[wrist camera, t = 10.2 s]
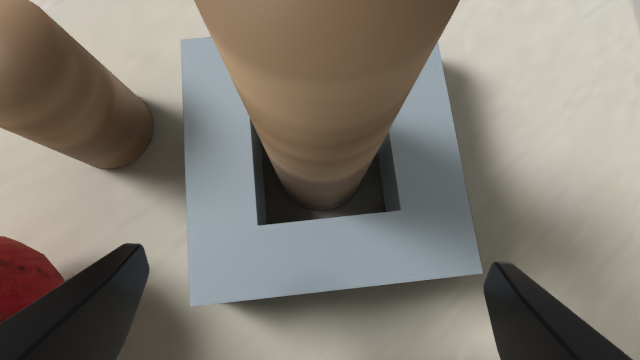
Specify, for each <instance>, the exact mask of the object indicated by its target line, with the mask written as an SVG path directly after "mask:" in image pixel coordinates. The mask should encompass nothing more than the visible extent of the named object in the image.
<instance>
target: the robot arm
mask: <svg viewBox="0 0 640 360" xmlns="http://www.w3.org/2000/svg"><path fill="white" fill-rule="evenodd" d="M148 276H149V264H148V261H147V257H146V254H145V251H144V248H143V246H142V245H141V244H131V243H126V244H123V245H121V246H120V247H118V248H117V249H115V250H114V251H112V252H110V253H109V254H107V255H106V256H104V257H103V258H101V259H100V260H98V261H97V262H95V263H93V264H92V265H90V266H89V267H87V268H86V269H84V270H83V271H81V272H80V273H78V274H76V275H75V276H73V277H72V278H70V279H69V280H67V281H66V282H64V283H63V284H61V285H59V286H58V287H56V288H55V289H53V290H52V291H50V292H49V293H47V294H45V295H44V296H42V297H41V298H39V299H38V300H36V301H35V302H33V303H32V304H30V305H28V306H27V307H25V308H24V309H22V310H21V311H19V312H18V313H16V314H15V315H13V316H11V317H10V318H8V319H7V320H5V321H4V322H2V323H1V324H0V360H116V359H117V357H118V355H119V353H120V351H121V348H122V346H123V344H124V342H125V340H126V338H127V335H128V333H129V331H130V328H131V325H132V323H133V320H134V317H135V314H136V311H137V308H138V305H139V302H140V299H141V296H142V293H143V290H144V288H145V285H146V282H147V279H148ZM484 295H485V300H486V304H487V308H488V312H489V317H490V321H491V325H492V330H493V334H494V338H495V342H496V346H497V350H498V353H499V356H500V359H501V360H633V359H631V358H630V357H629V356H628V355H626V354H625V353H624V352H623V351H621V350H620V349H619V348H618V347H616V346H615V345H614V344H612V343H611V342H610V341H609V340H607V339H606V338H605V337H604V336H602V335H601V334H600V333H599V332H597V331H596V330H595V329H594V328H592V327H591V326H590V325H589V324H587V323H586V322H585V321H584V320H582V319H581V318H580V317H579V316H577V315H576V314H575V313H574V312H572V311H571V310H570V309H569V308H567V307H566V306H565V305H564V304H562V303H561V302H560V301H558V300H557V299H556V298H555V297H553V296H552V295H551V294H550V293H548V292H547V291H546V290H545V289H543V288H542V287H541V286H540V285H538V284H537V283H536V282H535V281H533V280H532V279H531V278H530V277H528V276H527V275H526V274H525V273H523V272H522V271H521V270H520V269H518V268H517V267H516V266H515V265H513V264H512V263H509V262H494V263H493V264H492V265H491V268H490V270H489V273H488V275H487V278H486V280H485V283H484Z"/></svg>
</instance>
